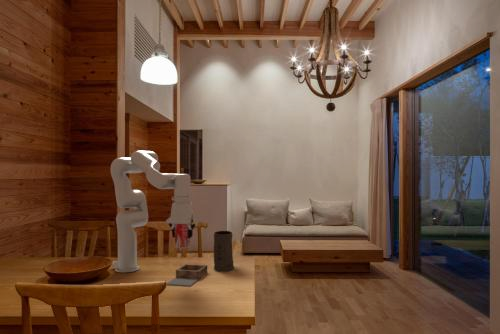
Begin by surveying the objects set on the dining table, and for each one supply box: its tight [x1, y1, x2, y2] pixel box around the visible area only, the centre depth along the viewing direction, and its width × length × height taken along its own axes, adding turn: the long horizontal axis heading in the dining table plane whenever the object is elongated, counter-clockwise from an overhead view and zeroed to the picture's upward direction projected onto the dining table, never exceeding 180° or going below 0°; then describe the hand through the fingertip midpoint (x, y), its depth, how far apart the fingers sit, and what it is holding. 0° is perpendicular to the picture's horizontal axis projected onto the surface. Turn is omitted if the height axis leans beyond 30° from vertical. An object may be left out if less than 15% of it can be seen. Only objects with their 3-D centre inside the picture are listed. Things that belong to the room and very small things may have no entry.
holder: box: [175, 263, 208, 281], centre depth 187 cm, size 12×12×4 cm
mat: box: [166, 277, 199, 288], centre depth 175 cm, size 12×10×1 cm
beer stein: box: [213, 230, 235, 273], centre depth 201 cm, size 15×11×20 cm
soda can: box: [174, 223, 191, 250], centre depth 176 cm, size 7×7×12 cm
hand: (182, 237), depth 176 cm, fingers closed on soda can, 7 cm apart
